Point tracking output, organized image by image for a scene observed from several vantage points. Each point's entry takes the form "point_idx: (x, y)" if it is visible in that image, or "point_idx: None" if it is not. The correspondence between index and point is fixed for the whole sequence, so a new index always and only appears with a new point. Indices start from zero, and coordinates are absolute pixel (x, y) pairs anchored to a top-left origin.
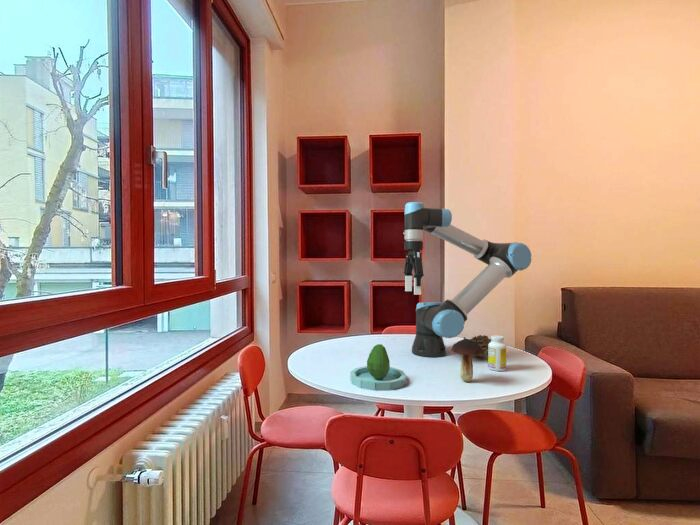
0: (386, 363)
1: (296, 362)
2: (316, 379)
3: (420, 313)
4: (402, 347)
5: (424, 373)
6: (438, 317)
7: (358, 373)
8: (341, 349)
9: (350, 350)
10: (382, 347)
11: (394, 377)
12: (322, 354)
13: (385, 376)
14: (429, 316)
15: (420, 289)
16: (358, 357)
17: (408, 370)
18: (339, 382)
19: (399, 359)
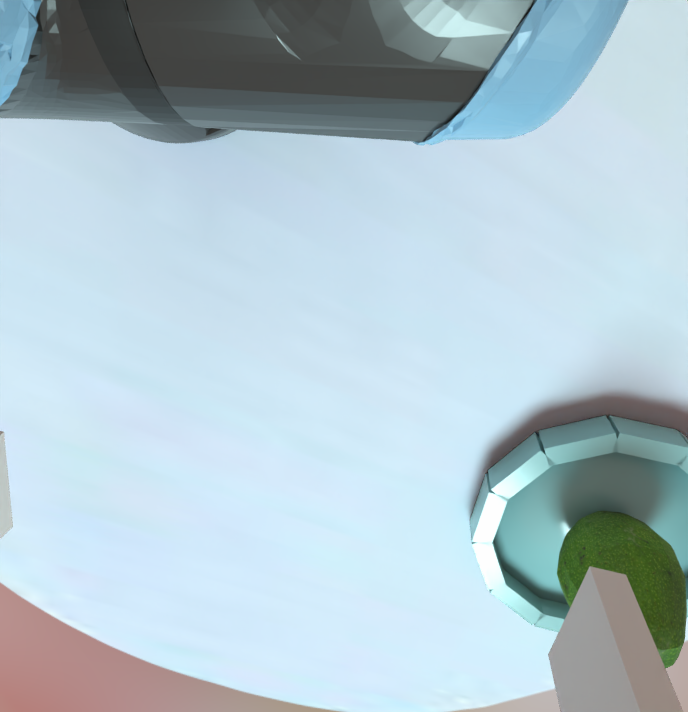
0: (684, 577)
1: (253, 685)
2: (484, 689)
3: (48, 111)
4: (12, 133)
5: (591, 278)
6: (528, 117)
7: (508, 574)
8: (58, 484)
9: (79, 452)
10: (679, 647)
11: (620, 465)
12: (144, 580)
13: (588, 493)
14: (298, 121)
15: (655, 673)
16: (217, 464)
17: (508, 334)
18: (550, 642)
19: (293, 285)
